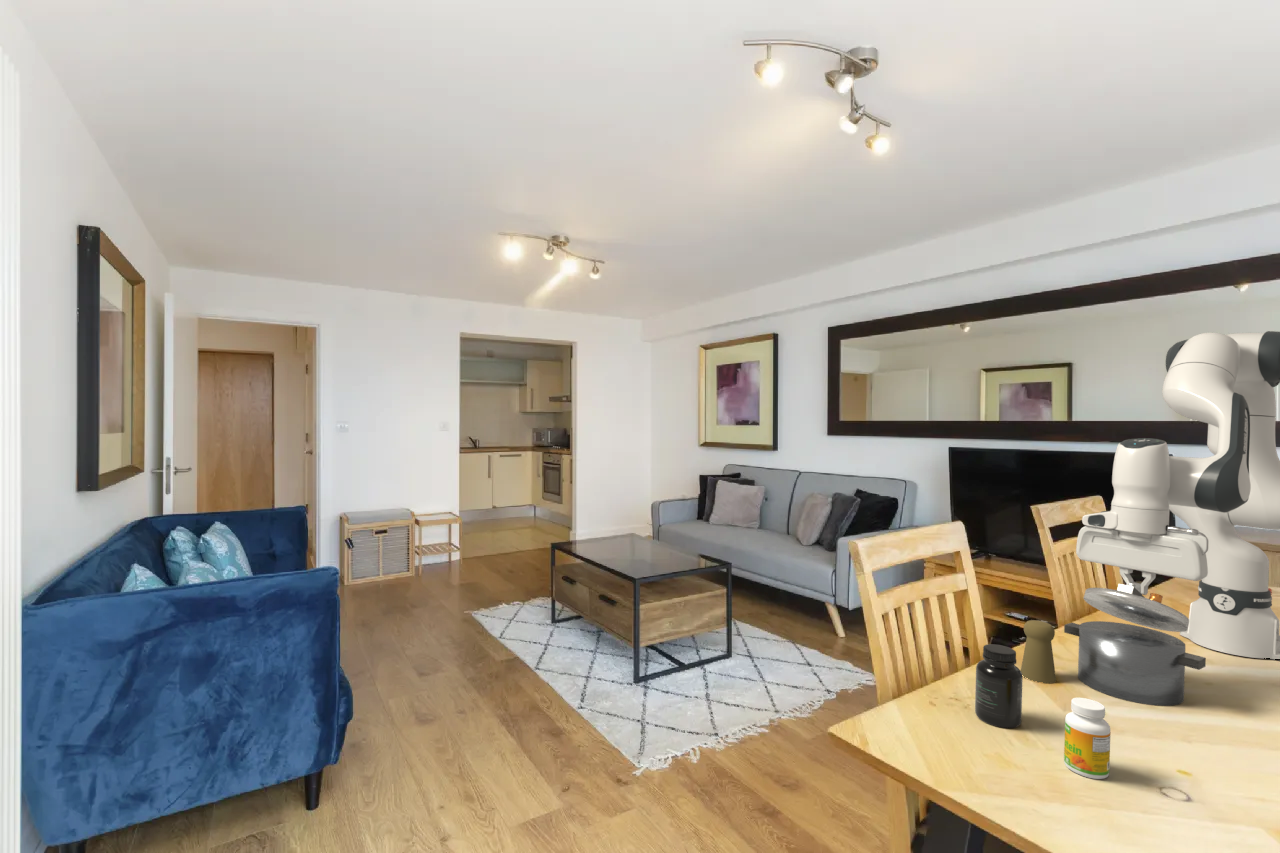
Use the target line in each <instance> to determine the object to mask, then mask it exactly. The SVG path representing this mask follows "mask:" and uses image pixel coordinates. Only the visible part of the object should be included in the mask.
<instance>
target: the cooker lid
mask: <svg viewBox="0 0 1280 853" xmlns="http://www.w3.org/2000/svg"><path fill="white" fill-rule="evenodd" d="M1163 599H1164V597H1163V595H1161V594H1159V593H1156V592H1155V593H1154V592H1150V593H1149V598H1147V597H1145V595H1142V594H1141V593H1140V592H1139V591H1138V590H1137V589H1136V588H1134V587H1133V586H1128V585H1126V584H1122V583H1118V586H1117V589H1112V588H1104V587H1089V588H1086V589H1085V592H1084V595H1083V600H1084V601H1085V602H1086V604H1088V605H1090V606H1091V607H1093V608H1094V609H1097V610H1098V611H1101V612H1103V613H1105V614H1106V615H1107V614H1108V615H1110V616H1112V617H1115V618H1118V619H1120V620H1124V621H1126V622H1130V623H1132V624H1134V625H1139V626H1141V627H1145V628H1149V629H1153V630H1158V631H1166V632H1174V633H1180V632H1184V631H1187V629H1188V626H1189V617H1188V616H1186V615H1185V614H1183V613H1182V612H1181V611H1178V610H1176V609H1174V608H1173V607H1171V606H1168V605H1166V604H1164V603H1162V602H1163Z"/></svg>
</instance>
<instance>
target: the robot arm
mask: <svg viewBox="0 0 1280 853" xmlns="http://www.w3.org/2000/svg"><path fill="white" fill-rule="evenodd" d="M1166 352H1167V353H1166V355H1165V369H1166V370H1165V371H1166V372H1167V373H1166V375H1165V378H1164V380H1163V384H1162V388H1161V391H1162V392H1161V395H1162V397H1163V398H1162V399H1163V400H1164V402H1165V404H1166V405H1167V406H1168V407H1169V408H1170V409H1171V410H1173V411H1174V412H1176V413H1177V414H1179V415H1181V416H1182V417H1185V418H1187V419H1190V420H1192V421H1193V420H1194V421H1198V422H1202V423H1205V424H1207V438H1206V439H1207V441H1206V444H1207V448H1208V449H1209V451H1210V452H1211V453H1212V454H1213V455H1211V456H1207V457H1191V456H1189V457H1188V456H1174V455H1170V453H1169V452H1170V451H1169V446H1168V444H1167V442H1166V441H1165V440H1162V439H1159V438H1152V437H1151V438H1149V437H1148V438H1146V437H1142V438H1141V437H1139V438H1131V439H1130V438H1128V439H1125V440H1123V441H1121V442H1119V443H1118V444H1117V447H1116V450H1115V454H1114V458H1113V464H1112V475H1111V484H1112V487H1113V497H1112V500H1111V501H1110V502H1111V503H1110V505H1111V506H1110V510H1102V511H1100V512H1095V513H1087V514H1085V515H1083V516H1082V517H1081V522H1082V524H1083V525H1084V526H1083V527H1081V528H1080V530H1079V531H1078V534H1077V539H1076V546H1075V547H1076V550H1075V552H1076V553H1075V554H1076V556H1077V557H1078V558H1079V559H1080V560H1081V561H1085V562H1090V563H1096V564H1102V565H1106V566H1112V567H1117V568H1119V574H1120V576H1121V577H1122V578H1123V581H1124V582H1125V583H1126V584H1125V585H1128V586H1133V587H1134V588H1136V589H1137V590H1138V591H1139V592H1140V593H1141V594H1142V595H1143V596H1146V595H1148V594H1149V585H1150V584H1151V583H1152V582H1153V581H1154V580H1155V579H1156V577H1157V575H1162V576H1166V577H1171V578H1178V579H1182V580H1189V581H1194V582H1198V581H1199V582H1198V586H1197V589H1198V593H1197V594H1198V596H1199V598H1198V599H1196V600H1194V601H1192V602H1191V603H1190V606H1189V614H1188V619H1189V626H1188V629H1187V631H1184V632H1179V635H1180V636H1182V637H1184V638H1186V639H1189V640H1190V642H1192V643H1194V644H1197V645H1199V646H1201V647H1204V648H1207V649H1209V650H1213V651H1218V652H1221V653H1225V654H1229V655H1235V656H1240V657H1246V658H1251V659H1252V658H1253V659H1254V658H1255V659H1264V658H1265V659H1266V658H1270V659H1269V660H1275V659H1280V619H1279V618H1278V617H1277V615H1276V614H1275V612H1274V610H1273V609H1272V608H1271V607H1272V605H1273V604H1272V602H1273V601H1272V600H1273V596H1272V595H1273V594H1272V593H1273V590H1272V588H1270V587H1269V581H1270V580H1269V579H1270V578H1269V573H1270V560H1269V557H1268V555H1267V554H1266V553H1265V552H1264V551H1263V549H1261V548H1260V547H1259V546H1257V545H1255V544H1253V543H1251V542H1249V541H1247V540H1245V539H1243V538H1242V537H1241V536H1239V534H1238V532H1237V531H1236V528H1235V526H1240V527H1247V528H1256V529H1263V530H1273V531H1280V458H1279V455H1278V452H1277V446H1276V444H1277V443H1276V421H1277V420H1276V418H1277V407H1276V406H1277V405H1276V404H1277V403H1276V402H1277V401H1276V394H1275V388H1274V387H1278V385H1279V384H1280V331H1276V330H1274V331H1273V330H1267V331H1266V332H1236V333H1235V332H1234V333H1227V334H1225V333H1222V332H1214V331H1213V332H1209V331H1208V332H1202V333H1199V334H1195V335H1193V336H1192V337H1190V338H1188V339H1185V340H1181V341H1177V342H1175V343H1174V344H1173V345H1172V346H1170V348H1169V349H1168V350H1167V351H1166ZM1170 512H1171V513H1172V514H1173V515H1175V516H1176V517H1178V518H1179V519H1180V520H1181V521H1182V522H1184V523H1185V524H1186V525H1187V526H1188V528H1184V527H1181V526H1174V525H1170ZM1133 571H1139V572H1141V577H1143V578H1144V580H1143V581H1142V582H1141V583H1140V582H1139V583H1138V582H1135V581H1134V579H1133V577H1132V575H1131V574H1133V573H1134V572H1133ZM1266 660H1267V659H1266Z"/></svg>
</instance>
